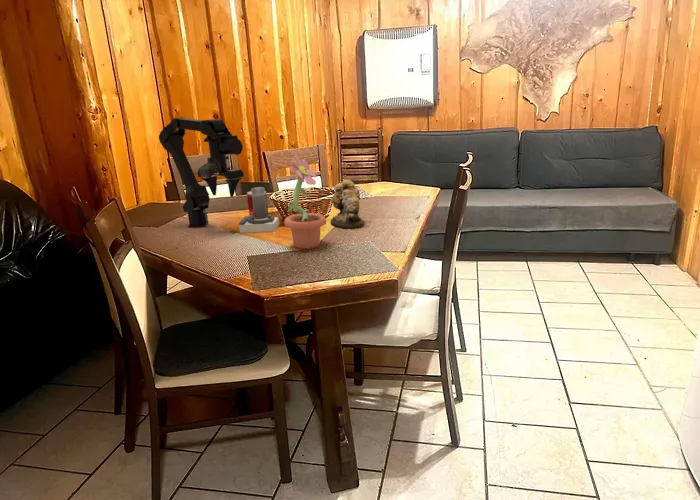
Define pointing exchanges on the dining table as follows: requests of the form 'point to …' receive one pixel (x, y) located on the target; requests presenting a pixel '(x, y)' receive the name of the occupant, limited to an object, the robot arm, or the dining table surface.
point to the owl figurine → (346, 206)
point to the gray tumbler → (259, 203)
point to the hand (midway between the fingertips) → (223, 196)
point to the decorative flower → (304, 223)
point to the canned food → (250, 203)
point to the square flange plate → (258, 224)
